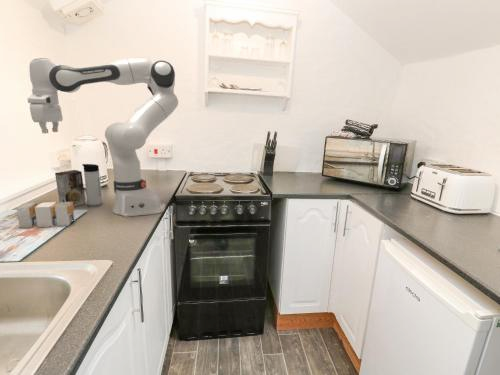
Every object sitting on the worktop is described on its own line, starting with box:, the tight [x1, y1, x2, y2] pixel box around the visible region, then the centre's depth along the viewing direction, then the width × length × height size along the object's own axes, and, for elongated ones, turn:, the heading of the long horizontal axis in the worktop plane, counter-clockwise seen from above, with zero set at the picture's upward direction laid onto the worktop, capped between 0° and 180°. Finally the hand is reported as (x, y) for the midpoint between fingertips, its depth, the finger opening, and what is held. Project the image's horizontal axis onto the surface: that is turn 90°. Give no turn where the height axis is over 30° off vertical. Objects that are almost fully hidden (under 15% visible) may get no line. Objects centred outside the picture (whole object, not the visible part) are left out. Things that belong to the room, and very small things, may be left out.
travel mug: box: [82, 163, 103, 208], centre depth 139 cm, size 6×7×20 cm
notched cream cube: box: [35, 201, 58, 228], centre depth 116 cm, size 6×6×8 cm
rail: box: [15, 202, 76, 229], centre depth 115 cm, size 18×6×8 cm, turn 101°
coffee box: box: [54, 169, 87, 208], centre depth 138 cm, size 9×6×16 cm
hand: (50, 132), depth 128 cm, fingers open, 8 cm apart
